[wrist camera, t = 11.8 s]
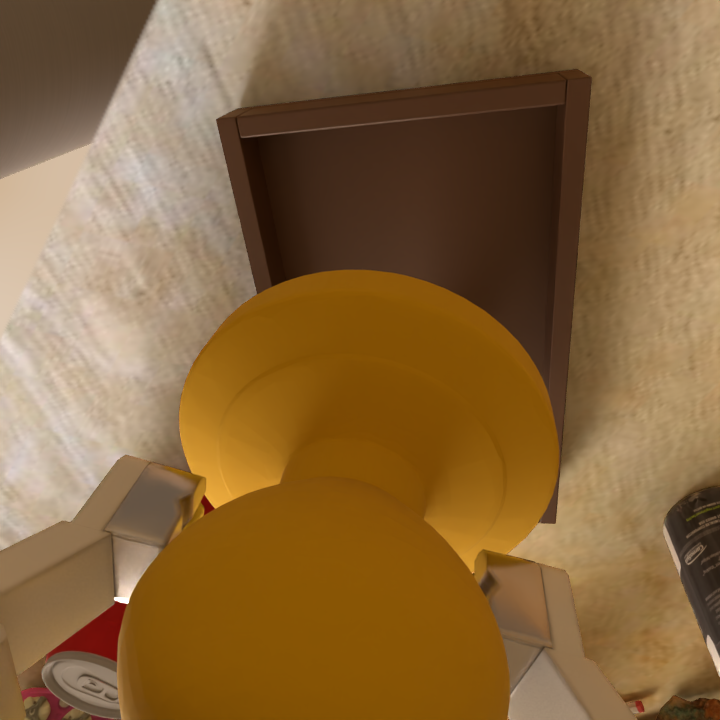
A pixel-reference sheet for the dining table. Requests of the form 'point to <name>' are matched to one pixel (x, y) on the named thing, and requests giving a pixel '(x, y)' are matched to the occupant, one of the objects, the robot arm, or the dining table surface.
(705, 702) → the rock
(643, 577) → the dining table surface
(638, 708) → the pencil
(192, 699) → the doorknob
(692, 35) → the dining table surface
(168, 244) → the dining table surface
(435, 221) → the tray
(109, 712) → the beverage can
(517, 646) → the robot arm
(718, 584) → the pill bottle
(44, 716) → the golf shoe
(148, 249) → the dining table surface
